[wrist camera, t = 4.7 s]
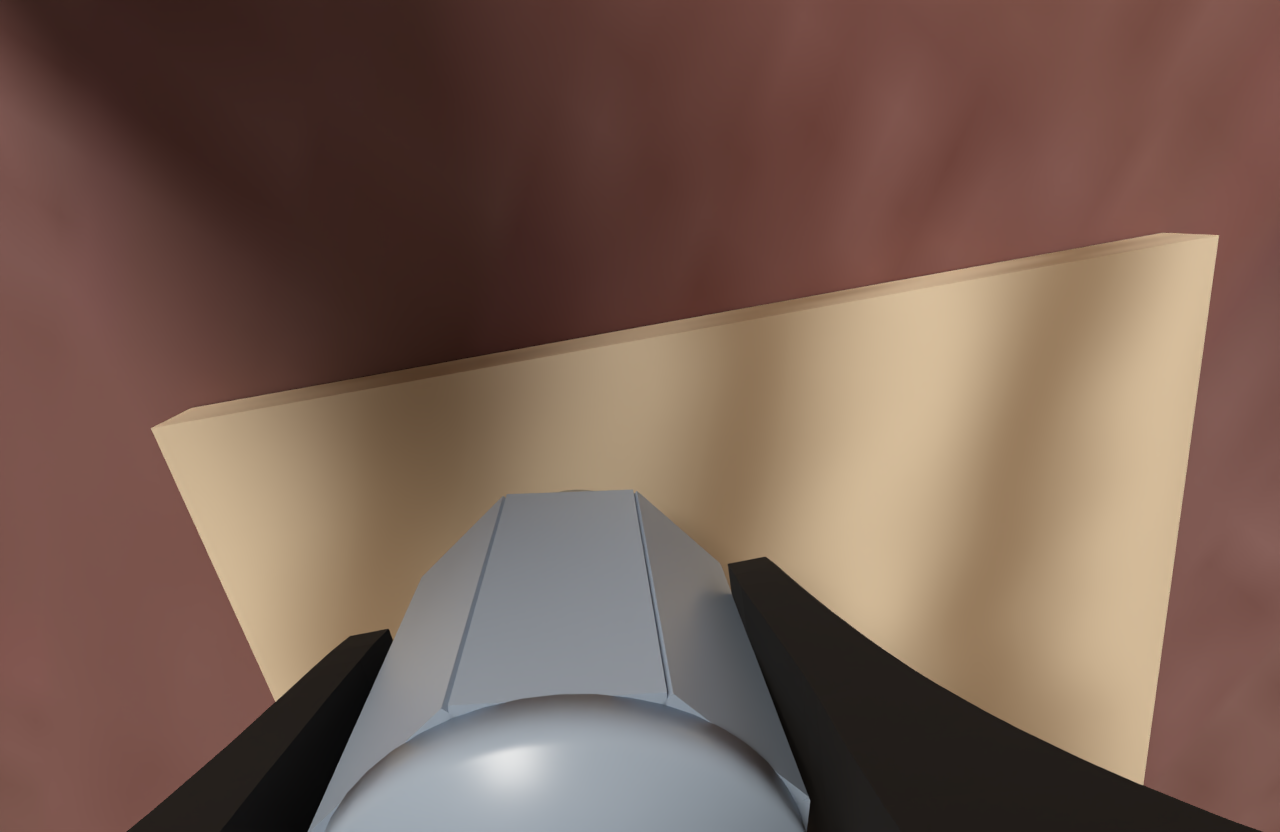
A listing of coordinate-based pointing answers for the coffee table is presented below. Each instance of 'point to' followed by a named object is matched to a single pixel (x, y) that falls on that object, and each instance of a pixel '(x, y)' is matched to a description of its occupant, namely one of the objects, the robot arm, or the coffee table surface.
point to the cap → (569, 688)
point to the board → (780, 472)
